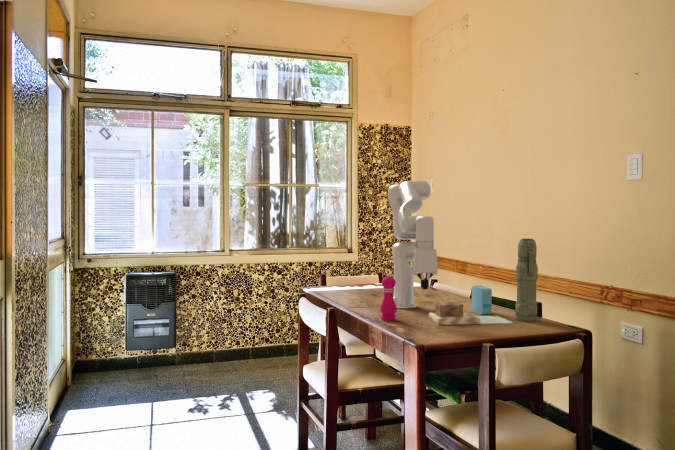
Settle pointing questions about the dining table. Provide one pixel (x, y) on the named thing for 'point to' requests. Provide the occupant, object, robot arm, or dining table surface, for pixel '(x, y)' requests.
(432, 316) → the board
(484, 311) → the data package
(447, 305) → the walnut box
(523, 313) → the stone moai statue
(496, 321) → the mat
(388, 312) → the pepper mill
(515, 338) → the dining table surface
